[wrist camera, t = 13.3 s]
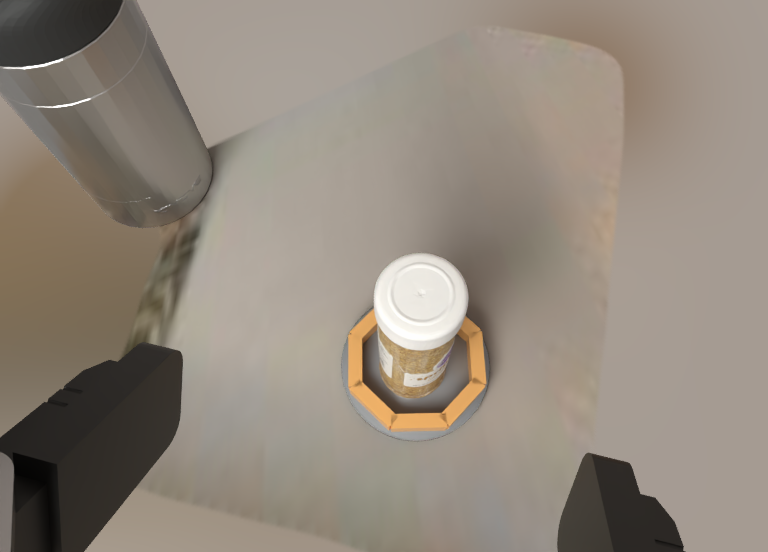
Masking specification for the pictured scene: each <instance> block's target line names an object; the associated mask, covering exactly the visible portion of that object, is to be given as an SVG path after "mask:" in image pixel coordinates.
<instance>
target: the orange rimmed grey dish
mask: <svg viewBox="0 0 768 552" xmlns="http://www.w3.org/2000/svg"><path fill="white" fill-rule="evenodd" d="M480 330H481V329H480V328H479V327H478V326H476V325H475V324H474V323H473V322H472V321H471V320H470V319H469V318H468V317H467V316H465V319H464V321H463V324H462V326H461V328H460V330H459V331H458V332H457V334H456V335H455V340H454V344H453V347H452V350H451V354H450V357H449V360H448V363H447V366H446V372H445V376H444V379H443V381H442V382H441V384H440V386H439V387H438V388H437V389H436V390H434V391H433V392H432V393H431V394H429V395H427V396H425V397H421V398H404V397H401V396H398V395H396V394H395V393H394V392H392V391H391V390H390V389H389V388H388V387H387V386H386V384H385V383H384V381H383V380H382V377H381V374H380V370H379V362H380V358H379V346H378V323H377V320H376V317H375V312H374V307H373V308H371V309H370V310H369V311H367V312H366V313H365V314H364V315H363V316H362V317H361V318H360V319H359V320H358V321H357V322H356V324H355V325H354V327H353V328H352V330H351V331H350V332H349V333H350V334H348V337H347V340H346V343H345V346H344V349H343V354H342V364H341V367H342V378H343V383H344V387H345V390H346V393H347V396H348V398H349V400H350V402H351V404H352V405H353V407H354V408H355V410H356V411H357V413H358V414H359V415H360V416H361V417H362V418H363V419H364V420H365V421H366V422H367V423H368V424H369V425H371V426H372V427H373V428H375V429H376V430H378V431H380V432H382V433H384V434H386V435H388V436H391V437H394V438H397V439H401V440H407V441H426V440H432V439H436V438H439V437H442V436H445V435H447V434H449V433H451V432H453V431H455V430H456V429H458V428H459V427H460V426H462V425H463V424H464V423H465V422H466V421H467V420H468V419H469V418H470V417H471V416H472V415H473V413H474V412H475V411H476V410H477V408H478V407H479V405H480V403H481V401H482V400H483V397H484V395H485V392H486V389H487V385H488V381H489V357H488V352H487V349H486V345H485V343H484V340H483V337H482V332H480Z"/></svg>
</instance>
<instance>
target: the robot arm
mask: <svg viewBox="0 0 768 552" xmlns="http://www.w3.org/2000/svg"><path fill="white" fill-rule="evenodd" d="M0 95H1V97H2V98H3V99H4V100H5V101H6V102H7V103H8V104H9V105H10V107H11V108H12V109H13V110H14V111H15V112H16V113H17V115H18V116H19V117H20V118H21V119H22V120H23V121H24V122H25V124H26V125H27V126H28V127H29V128H30V129H31V130H32V131H33V132H34V134H35V135H36V136H37V137H38V138H39V139H40V140H41V142H42V143H43V144H44V145H45V146H46V147H47V148H48V149H49V150H50V152H51V153H52V154H53V155H54V156H55V157H56V158H57V160H58V161H59V162H60V163H61V164H62V165H63V166H64V167H65V169H67V171H68V172H69V173H70V174H71V175H72V176H73V178H74V179H75V180H76V181H77V182H78V183H79V185H80V186H81V187H82V188H83V189H84V190H85V191H86V192H87V194H88V195H89V196H90V197H91V198H92V199H93V200H94V201H95V202H96V204H97V205H98V206H99V207H100V208H101V209H102V210H103V211H104V212H105V213H106V214H107V215H108V216H109V217H110V218H112V219H113V220H115V221H117V222H119V223H122V224H124V225H127V226H131V227H138V228H149V227H158V226H162V225H166V224H169V223H171V222H173V221H176V220H178V219H180V218H181V217H183V216H184V215H186V214H187V213H189V212H190V211H191V210H192V209H193V208H194V207H196V206H197V205H198V204H199V203H200V201H201V200H202V198H203V197H204V195H205V194H206V192H207V190H208V187H209V185H210V182H211V177H212V161H211V158H210V155H209V153H208V150H207V148H206V146H205V144H204V142H203V140H202V138H201V135H200V133H199V131H198V129H197V127H196V125H195V122H194V120H193V118H192V116H191V114H190V112H189V109H188V107H187V105H186V104H185V101H184V99H183V97H182V95H181V93H180V90H179V89H178V86H177V84H176V82H175V80H174V78H173V76H172V74H171V71H170V70H169V67H168V65H167V63H166V61H165V59H164V57H163V55H162V52H161V50H160V48H159V46H158V44H157V42H156V40H155V38H154V36H153V33H152V31H151V29H150V27H149V25H148V23H147V21H146V19H145V17H144V15H143V13H142V11H141V9H140V7H139V5H138V2H137V0H0ZM182 369H183V358H182V354H181V352H180V351H178V350H174V349H170V348H166V347H162V346H157V345H153V344H149V343H145V342H142V343H140V344H138V345H137V346H136V347H135V348H133V349H132V350H131V351H130V352H129V353H128V354H126V355H125V356H124V357H123V358H122V359H121V360H119V361H118V362H116V361H112V360H108V361H106V362H103V363H101V364H99V365H96V366H93V367H91V368H89V369H86V370H84V371H82V372H81V373H80V374H79V375H77V376H76V377H75V378H74V379H72V380H71V381H70V382H69V383H67V384H66V385H65V386H64V389H63V390H62V389H60V390H59V391H58V392H56V393H55V394H54V395H53V396H52V397H50V398H49V399H48V402H47V403H46V402H44V403H43V404H41V405H40V406H39V407H38V408H36V409H35V410H34V411H33V412H31V413H30V414H29V415H28V416H26V417H25V418H24V419H23V420H22V421H20V422H19V423H18V424H17V425H15V426H14V427H13V428H12V429H10V430H9V431H8V432H7V433H5V434H4V435H3V436H2V437H1V438H0V552H84V551H85V550H86V548H87V547H88V546H89V545H90V544H91V542H92V541H93V540H94V539H95V537H96V536H97V535H98V534H99V532H100V531H101V530H102V529H103V527H104V526H105V525H106V524H107V522H108V521H109V520H110V519H111V517H112V516H113V515H114V514H115V512H116V511H117V510H118V509H119V508H120V506H121V505H122V504H123V503H124V501H125V500H126V499H127V497H128V496H129V495H130V494H131V492H132V491H133V490H134V489H135V488H136V486H137V485H138V484H139V483H140V481H141V480H142V479H143V478H144V476H145V475H146V474H147V473H148V471H149V470H150V469H151V468H152V466H153V465H154V464H155V463H156V461H157V460H158V459H159V458H160V456H161V455H162V454H163V453H164V451H165V450H166V449H167V448H168V446H169V445H170V443H171V442H172V440H173V438H174V436H175V434H176V431H177V428H178V425H179V421H180V413H181V391H182ZM557 546H558V552H685V551H683V547H684V546H683V544H682V541H681V538H680V535H679V532H678V530H677V527H676V524H675V522H674V521H673V519H672V518H671V517H670V516H669V514H668V513H667V512H666V511H665V509H664V508H663V507H662V506H661V504H660V503H659V502H658V501H657V500H656V498H654V497H650V496H645V495H642V494H640V492H639V488H638V485H637V482H636V479H635V476H634V472H633V469H632V467H631V465H630V463H628V462H624V461H620V460H616V459H612V458H608V457H604V456H599V455H596V454H592V453H587V454H586V455H585V456H584V458H583V459H582V462H581V464H580V467H579V470H578V472H577V475H576V478H575V480H574V483H573V486H572V488H571V491H570V494H569V497H568V499H567V502H566V505H565V507H564V510H563V513H562V516H561V519H560V524H559V530H558V542H557Z"/></svg>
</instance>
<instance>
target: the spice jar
mask: <svg viewBox="0 0 768 552" xmlns="http://www.w3.org/2000/svg"><path fill="white" fill-rule="evenodd" d="M468 300H469V294H468V289H467V285H466V282H465V280H464V278H463V276H462V274H461V273H460V272H459V270H458V269H457V268H456V267H455V266H454V265H453V264H451V263H450V262H449V261H447V260H446V259H444V258H442V257H439V256H437V255H434V254H429V253H411V254H407V255H404V256H402V257H399V258H397V259H396V260H394V261H392V262H391V263H390V264H389V265H387V267H386V268H385V269H384V270H383V271H382V272H381V274H380V276H379V278H378V280H377V282H376V285H375V290H374V312H375V317H376V320H377V323H378V346H379V358H380V362H379V370H380V374H381V377H382V380H383V381H384V383H385V384H386V386H387V387H388V388H389V389H390V390H391V391H392V392H394V393H395V394H396V395H398V396H401V397H404V398H421V397H425V396H427V395H429V394H431V393H432V392H433V391H434V390H436V389H437V388H438V387H439V386H440V384H441V382H442V381H443V379H444V376H445V372H446V366H447V363H448V360H449V357H450V354H451V350H452V347H453V344H454V340H455V335H456V334H457V332H458V331H459V330H460V328H461V326H462V324H463V321H464V319H465V316H466V312H467V308H468Z"/></svg>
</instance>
